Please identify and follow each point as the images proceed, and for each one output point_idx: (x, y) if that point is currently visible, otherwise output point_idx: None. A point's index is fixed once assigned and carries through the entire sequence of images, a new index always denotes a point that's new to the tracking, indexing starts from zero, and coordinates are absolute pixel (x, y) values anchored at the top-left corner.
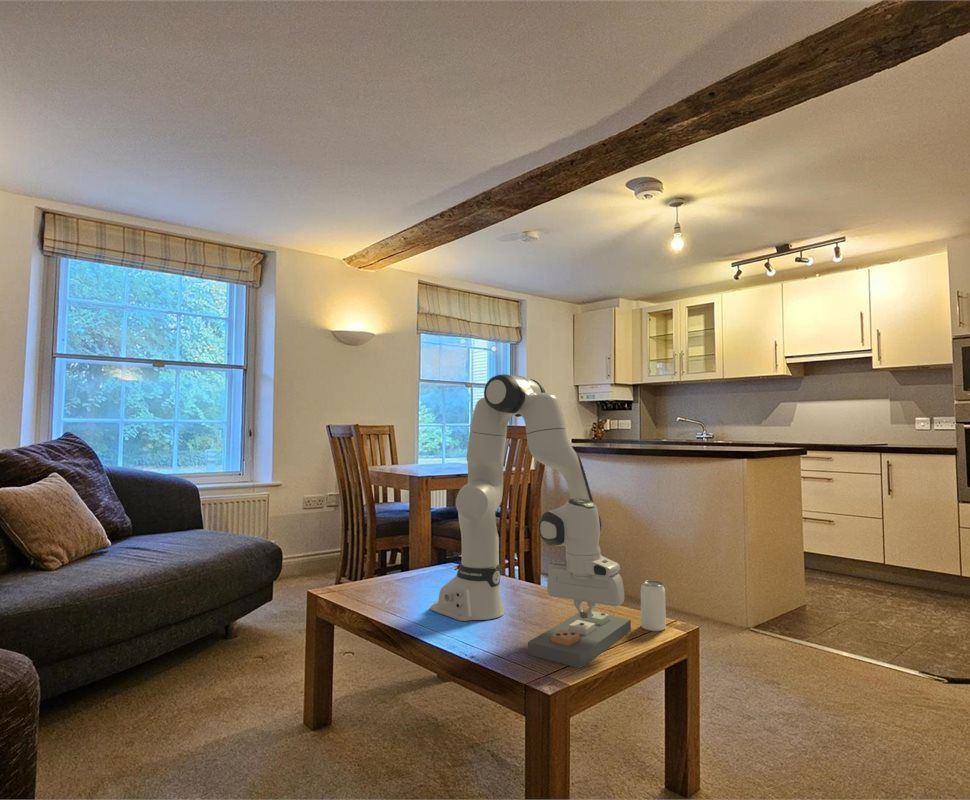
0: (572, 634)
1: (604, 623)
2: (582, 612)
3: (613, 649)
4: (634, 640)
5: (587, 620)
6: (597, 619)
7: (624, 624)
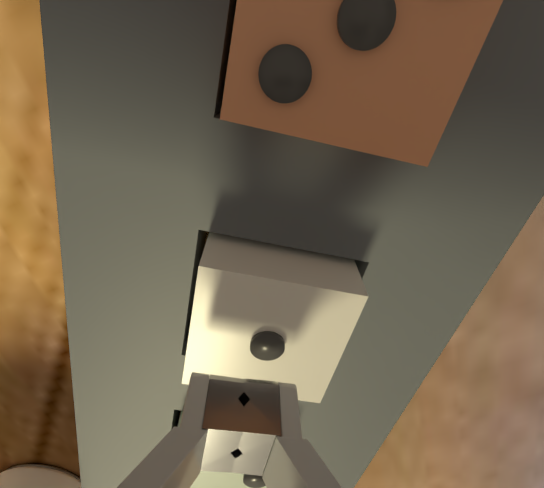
0: (281, 45)
1: None
2: (256, 428)
3: None
4: (37, 370)
5: None
6: None
7: (79, 453)
